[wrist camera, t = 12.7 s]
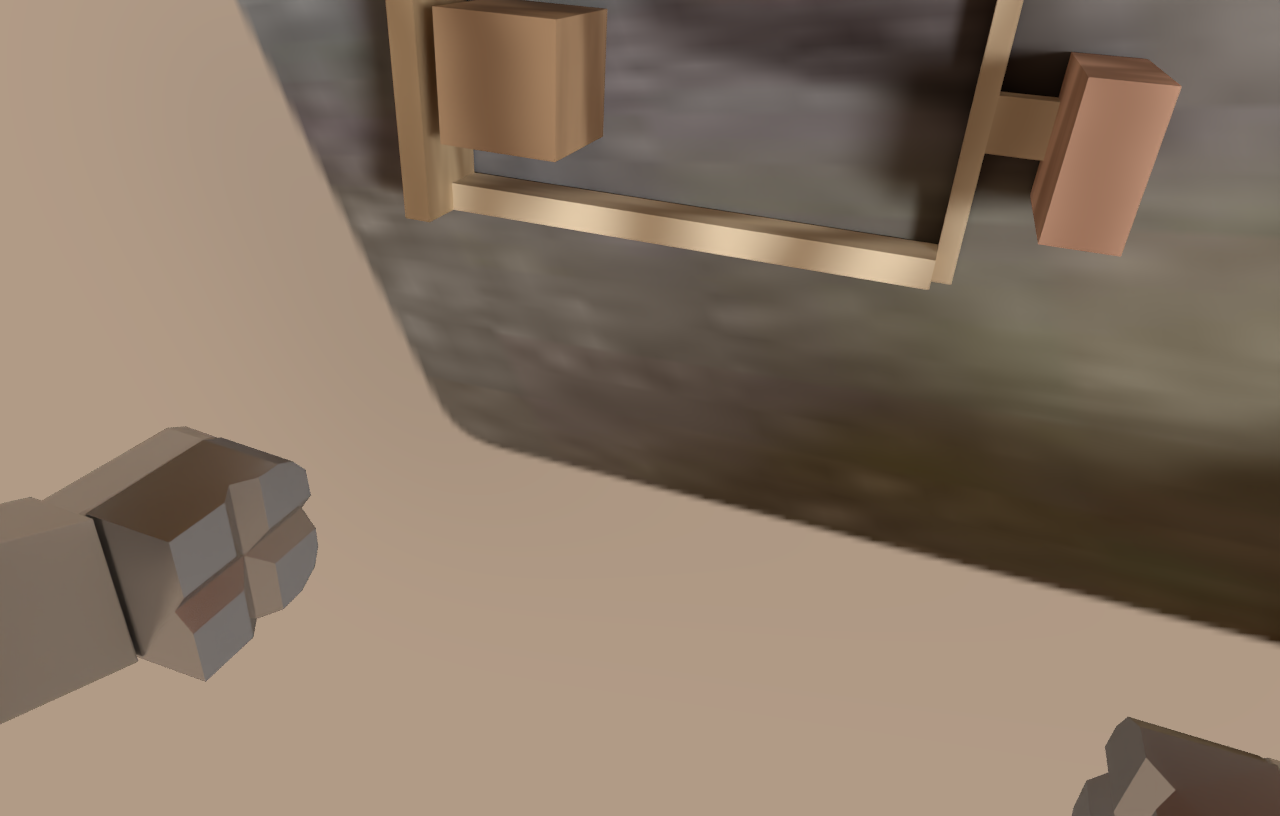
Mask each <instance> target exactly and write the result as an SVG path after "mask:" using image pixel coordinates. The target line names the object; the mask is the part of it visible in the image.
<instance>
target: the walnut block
mask: <svg viewBox="0 0 1280 816" xmlns="http://www.w3.org/2000/svg"><path fill="white" fill-rule="evenodd" d="M432 12H433V28H434V45H435V61H436V78H437V94H438V110H439V127H440V143H441V144H442V145H449V146H455V147H462V148H468V149H474V150H481V151H487V152H494V153H500V154H507V155H513V156H519V157H526V158H532V159H539V160H545V161H552V162H556V161H558V160H560V159H562V158H564V157H566V156H567V155H569V154H571V153H573V152H575V151H577V150H579V149H580V148H582V147H584V146H586V145H588V144H590V143H592V142H593V141H595V140H597V139H599V138H601V137H603V117H604V88H605V59H606V29H607V9H603V8H593V7H583V6H574V5H564V4H554V3H544V2H534V1H525V0H474V1H466V2H459V3H452V4H445V5H437V6H432Z"/></svg>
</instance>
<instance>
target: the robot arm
mask: <svg viewBox="0 0 1280 816" xmlns="http://www.w3.org/2000/svg"><path fill="white" fill-rule="evenodd" d="M310 495H311V494H310V489H309V484H308V479H307V475H306V470H305V469H303V468H302V467H300V466H299V465H297V464H295V463H294V462H292V461H289V460H286V459H283V458H280V457H278V456H275V455H271V454H268V453H266V452H262V451H260V450H257V449H254V448H251V447H248V446H245V445H242V444H239V443H236V442H233V441H230V440H227V439H224V438H217V437H214V436H211V435H209V434H206V433H203V432H200V431H197V430H194V429H191V428H188V427H175V428H174V427H173V428H166V429H164V430H163V431H161V432H159V433H158V434H156V435H154V436H153V437H151V438H149V439H147V440H146V441H144V442H142V443H140V444H139V445H137V446H135V447H133V448H132V449H130V450H128V451H127V452H125V453H123V454H122V455H120V456H118V457H116V458H115V459H113V460H111V461H109V462H108V463H106V464H104V465H102V466H101V467H99V468H97V469H96V470H94V471H92V472H90V473H89V474H87V475H85V476H83V477H82V478H80V479H78V480H77V481H75V482H73V483H71V484H70V485H68V486H66V487H65V488H63V489H61V490H59V491H58V492H56V493H54V494H53V495H51V496H49V497H47V498H46V499H44V500H42V501H41V500H38V499H35V498H32V497H28V498H23V499H19V500H15V501H10V502H6V503H2V504H0V724H2V723H4V722H6V721H9V720H11V719H13V718H15V717H17V716H19V715H22V714H24V713H26V712H28V711H30V710H33V709H35V708H37V707H39V706H42V705H44V704H46V703H48V702H50V701H52V700H55V699H57V698H59V697H61V696H64V695H66V694H68V693H70V692H72V691H74V690H77V689H79V688H81V687H83V686H86V685H88V684H90V683H92V682H94V681H96V680H99V679H101V678H103V677H105V676H107V675H110V674H112V673H114V672H116V671H119V670H121V669H123V668H125V667H127V666H130V665H132V664H134V663H136V662H137V661H138V659H137V657H139V658H142V659H145V660H147V661H150V662H153V663H156V664H158V665H161V666H164V667H167V668H169V669H172V670H175V671H178V672H180V673H183V674H186V675H189V676H191V677H194V678H197V679H200V680H202V681H205V682H206V681H207V680H208V679H209V678H210V677H211V676H212V675H213V674H214V673H216V672H217V671H218V670H219V669H220V668H221V667H222V666H223V665H224V664H225V663H226V662H227V661H228V660H229V659H230V658H232V657H233V656H234V655H235V654H236V653H237V652H238V651H239V650H240V649H241V648H242V647H243V646H244V645H245V644H247V642H249V641H250V640H251V639H252V638H253V636H254V631H255V624H256V619H257V618H260V617H263V616H265V615H268V614H271V613H274V612H276V611H279V610H282V609H284V608H285V607H286V606H287V605H288V604H289V603H290V602H291V601H292V600H293V599H294V598H295V597H296V596H297V595H298V594H299V593H300V592H301V591H302V590H303V588H304V586H305V584H306V582H307V580H308V578H309V576H310V575H311V573H312V570H313V569H314V567H315V562H316V555H317V549H318V542H317V535H316V528H315V527H314V525H313V524H312V522H311V521H310V519H309V518H308V517H307V515H306V514H305V512H304V511H303V510H302V506H303V505H304V504H305V502H306V501H307V500H308V498H309V497H310ZM1105 750H1106V757H1107V765H1108V773H1106V774H1104V775H1101V776H1098V777H1095V778H1093V779H1090V780H1087V781H1086V783H1085V785H1084V787H1083V789H1082V791H1081V793H1080V795H1079V798H1078V799H1077V801H1076V803H1075V806H1074V808H1073V813H1072V816H1280V761H1278V760H1274V759H1271V758H1262V757H1260V756H1258V755H1255V754H1251V753H1248V752H1245V751H1241V750H1238V749H1234V748H1231V747H1228V746H1224V745H1221V744H1218V743H1214V742H1211V741H1208V740H1204V739H1201V738H1198V737H1194V736H1191V735H1187V734H1184V733H1181V732H1177V731H1174V730H1171V729H1167V728H1164V727H1161V726H1157V725H1154V724H1151V723H1147V722H1144V721H1140V720H1137V719H1134V718H1131V717H1127V718H1126V719H1125V720H1124V721H1122V722H1121V723H1120V724H1119V725H1117V726H1116V728H1115V730H1114V732H1113V733H1112V735H1111V737H1110V739H1109V740H1108V742H1107V744H1106V746H1105Z"/></svg>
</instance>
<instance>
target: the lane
mask: <svg viewBox="0 0 1280 816" xmlns="http://www.w3.org/2000/svg"><path fill="white" fill-rule="evenodd" d="M385 1H386V11H387V22H388V33H389V44H390V54H391V65H392V76H393V87H394V97H395V108H396V119H397V130H398V140H399V151H400V162H401V172H402V183H403V194H404V205H405V215H406V218H409V219H415V220H421V221H426V222H431V221H433V220H435V219H437V218H439V217H440V216H442V215H444V214H446V213H448V212H450V211H452V210H460V211H465V212H471V213H477V214H483V215H489V216H495V217H501V218H507V219H513V220H518V221H524V222H530V223H536V224H542V225H548V226H554V227H560V228H566V229H572V230H577V231H583V232H589V233H595V234H601V235H607V236H613V237H619V238H625V239H631V240H636V241H642V242H648V243H654V244H660V245H666V246H672V247H678V248H684V249H689V250H695V251H701V252H707V253H713V254H719V255H725V256H731V257H737V258H743V259H748V260H754V261H760V262H766V263H772V264H778V265H784V266H790V267H796V268H802V269H807V270H813V271H819V272H825V273H831V274H837V275H843V276H849V277H855V278H860V279H866V280H872V281H878V282H884V283H890V284H896V285H902V286H908V287H914V288H919V289H925V290H929V287H930V283H931V281H932V282H938V283H944V284H950V285H951V283H952V279H953V275H954V271H955V267H956V263H957V260H958V256H959V252H960V248H961V244H962V240H963V236H964V232H965V228H966V224H967V220H968V216H969V212H970V208H971V205H972V201H973V197H974V193H975V189H976V185H977V181H978V177H979V173H980V169H981V165H982V161H983V157H984V153H985V154H993V155H1001V156H1009V157H1017V158H1025V159H1033V160H1040V163H1039V166H1038V170H1037V173H1036V177H1035V180H1034V184H1033V187H1032V190H1031V194H1030V197H1031V203H1032V209H1033V215H1034V221H1035V228H1036V234H1037V240H1038V244H1041V245H1048V246H1054V247H1061V248H1068V249H1074V250H1081V251H1087V252H1094V253H1101V254H1107V255H1114V256H1121V255H1122V252H1123V249H1124V246H1125V244H1126V241H1127V238H1128V235H1129V232H1130V230H1131V227H1132V224H1133V221H1134V218H1135V216H1136V213H1137V210H1138V207H1139V204H1140V202H1141V199H1142V196H1143V193H1144V190H1145V188H1146V185H1147V182H1148V179H1149V176H1150V174H1151V171H1152V168H1153V165H1154V162H1155V160H1156V157H1157V154H1158V151H1159V148H1160V146H1161V143H1162V140H1163V137H1164V134H1165V132H1166V129H1167V126H1168V123H1169V120H1170V118H1171V115H1172V112H1173V109H1174V107H1175V104H1176V101H1177V98H1178V95H1179V93H1180V90H1181V87H1182V86H1181V85H1179V84H1178V83H1177V82H1176V81H1174V80H1173V79H1172V78H1171V77H1169V76H1168V75H1167V74H1166V73H1164V72H1163V71H1162V70H1161V69H1159V68H1158V67H1157V66H1156V65H1155V64H1153V63H1152V62H1151V61H1150V60H1148V59H1140V58H1130V57H1119V56H1108V55H1097V54H1087V53H1076V52H1071V55H1070V59H1069V62H1068V66H1067V69H1066V73H1065V76H1064V80H1063V83H1062V87H1061V90H1060V93H1059V97H1048V96H1039V95H1030V94H1020V93H1011V92H1002V91H1001V87H1002V83H1003V79H1004V75H1005V71H1006V67H1007V63H1008V59H1009V55H1010V51H1011V47H1012V43H1013V40H1014V36H1015V32H1016V28H1017V24H1018V20H1019V16H1020V12H1021V8H1022V4H1023V0H997V2H996V6H995V10H994V14H993V18H992V23H991V27H990V31H989V35H988V39H987V43H986V48H985V52H984V56H983V60H982V64H981V68H980V73H979V77H978V81H977V85H976V89H975V93H974V98H973V102H972V106H971V110H970V114H969V118H968V123H967V127H966V131H965V135H964V139H963V143H962V148H961V152H960V156H959V160H958V164H957V168H956V173H955V177H954V181H953V185H952V189H951V193H950V198H949V202H948V206H947V210H946V214H945V218H944V223H943V227H942V231H941V235H940V239H939V243H938V244H932V243H926V242H919V241H913V240H906V239H900V238H893V237H887V236H881V235H874V234H868V233H861V232H855V231H848V230H842V229H836V228H829V227H823V226H816V225H810V224H803V223H797V222H790V221H784V220H778V219H771V218H765V217H758V216H752V215H745V214H739V213H732V212H726V211H720V210H713V209H707V208H700V207H694V206H687V205H681V204H674V203H668V202H662V201H655V200H649V199H642V198H636V197H629V196H623V195H617V194H610V193H604V192H597V191H591V190H584V189H578V188H571V187H565V186H559V185H552V184H546V183H539V182H533V181H526V180H520V179H513V178H507V177H501V176H494V175H488V174H481V173H475V172H474V155H473V149H468V148H462V147H455V146H449V145H442V144H441V143H440V127H439V110H438V94H437V78H436V61H435V45H434V28H433V12H432V6H437V5H445V4H452V3H459V2H466V0H385Z"/></svg>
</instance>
